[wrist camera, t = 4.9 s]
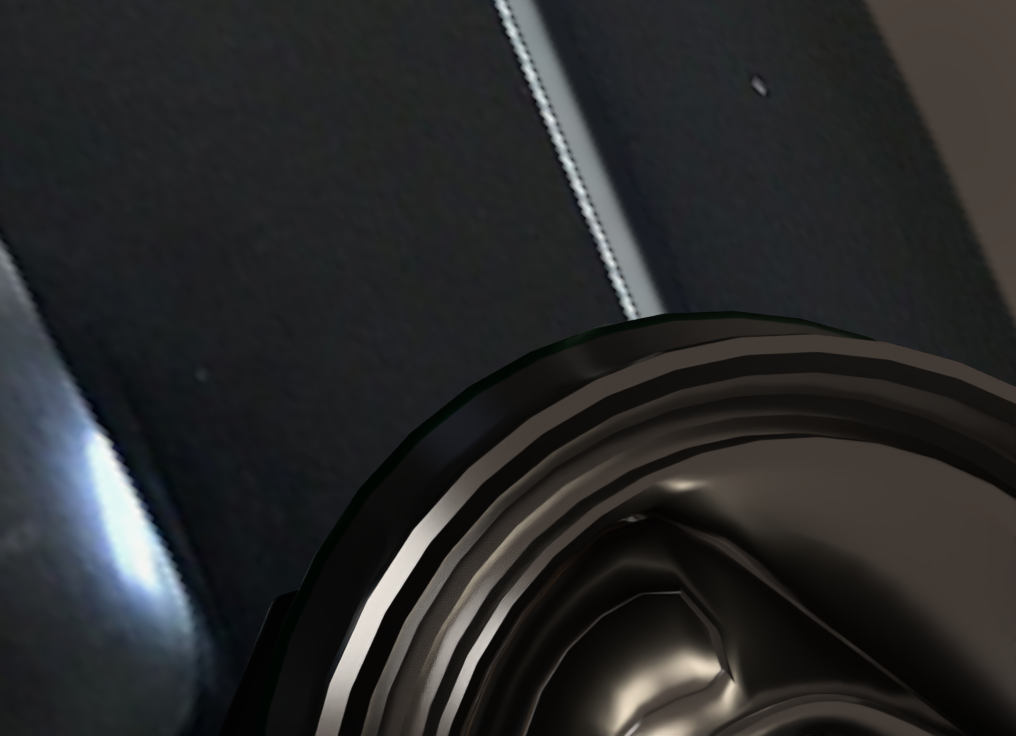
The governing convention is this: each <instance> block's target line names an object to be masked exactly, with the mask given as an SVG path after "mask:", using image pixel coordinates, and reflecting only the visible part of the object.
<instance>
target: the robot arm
mask: <svg viewBox="0 0 1016 736" xmlns="http://www.w3.org/2000/svg"><path fill="white" fill-rule="evenodd" d="M297 592H298V590H296V591H293V592H290V593H287V594H284V595H281V596H278V597H276V598H275V599H274V600H273V602H272V603H271V605H270V607H269V610H268V612H267V615H266V618H265V620H264V623H263V625H262V628H261V630H260V633H259V635H258V638H257V640H256V643H255V645H254V648H253V650H252V653H251V655H250V658H249V660H248V663H247V665H246V668H245V670H244V673H243V675H242V678H241V680H240V683H239V685H238V688H237V690H236V693H235V695H234V698H233V700H232V703H231V705H230V708H229V710H228V713H227V715H226V718H225V720H224V723H223V725H222V728H221V730H220V733H219V735H218V736H253V735H254V728H255V721H256V714H257V707H258V703H259V700H260V697H261V693H262V690H263V687H264V683H265V680H266V677H267V673H268V670H269V667H270V663H271V660H272V657H273V653H274V650H275V647H276V643H277V640H278V636H279V633H280V630H281V627H282V624H283V622H284V620H285V618H286V616H287V614H288V612H289V610H290V607H291V605H292V603H293V601H294V599H295V597H296V595H297Z"/></svg>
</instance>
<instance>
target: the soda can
mask: <svg viewBox="0 0 1016 736" xmlns="http://www.w3.org/2000/svg"><path fill="white" fill-rule="evenodd" d="M253 736H1016V387H1014V386H1012V385H1010V384H1007V383H1005V382H1003V381H1000V380H998V379H996V378H994V377H991V376H989V375H987V374H985V373H982V372H980V371H978V370H975V369H973V368H971V367H969V366H966V365H964V364H962V363H960V362H956V361H953V360H949V359H945V358H942V357H938V356H934V355H931V354H927V353H923V352H920V351H916V350H912V349H909V348H905V347H901V346H898V345H894V344H890V343H886V342H878V341H876V340H874V339H871V338H869V337H866V336H863V335H859V334H855V333H852V332H848V331H844V330H841V329H837V328H833V327H830V326H826V325H822V324H819V323H815V322H811V321H808V320H804V319H799V318H791V317H782V316H773V315H764V314H755V313H747V312H738V311H719V312H694V313H670V314H660V315H655V316H650V317H645V318H641V319H636V320H631V321H626V322H621V323H616V324H611V325H606V326H601V327H596V328H593V329H591V330H588V331H585V332H583V333H580V334H577V335H575V336H572V337H569V338H567V339H564V340H561V341H558V342H556V343H553V344H550V345H548V346H545V347H542V348H540V349H537V350H534V351H532V352H529V353H528V354H526V355H524V356H522V357H521V358H519V359H517V360H515V361H514V362H512V363H510V364H508V365H506V366H505V367H503V368H501V369H499V370H498V371H496V372H494V373H492V374H491V375H489V376H487V377H485V378H484V379H482V380H480V381H478V382H476V383H475V384H473V385H471V386H469V387H468V388H466V389H465V390H464V391H463V392H461V393H460V394H459V395H458V396H456V397H455V398H454V399H453V400H451V401H450V402H449V403H448V404H446V405H445V406H444V407H443V408H441V409H440V410H439V411H438V412H436V413H435V414H434V415H433V416H431V417H430V418H429V419H427V420H426V421H425V422H424V423H422V424H421V425H420V426H419V427H417V428H416V429H415V430H414V431H412V432H411V433H410V434H409V435H408V436H407V437H406V438H405V439H404V441H403V442H402V443H401V444H400V445H399V446H398V447H397V448H396V449H395V450H394V451H393V453H392V454H391V455H390V456H389V457H388V458H387V459H386V460H385V461H384V462H383V463H382V465H381V466H380V467H379V468H378V469H377V470H376V471H375V472H374V473H373V474H372V475H371V476H370V478H369V479H368V480H367V481H366V482H365V483H364V484H363V485H362V486H361V487H360V488H359V490H358V491H357V493H356V494H355V496H354V497H353V499H352V500H351V502H350V503H349V505H348V506H347V508H346V509H345V511H344V512H343V514H342V515H341V517H340V518H339V520H338V521H337V523H336V524H335V526H334V527H333V529H332V530H331V532H330V533H329V535H328V536H327V538H326V539H325V541H324V542H323V544H322V545H321V546H320V548H319V549H318V551H317V552H316V554H315V556H314V558H313V561H312V563H311V565H310V567H309V569H308V571H307V573H306V575H305V578H304V580H303V582H302V584H301V586H300V588H299V590H298V592H297V595H296V597H295V599H294V601H293V603H292V605H291V607H290V610H289V612H288V614H287V616H286V618H285V620H284V622H283V624H282V627H281V630H280V633H279V636H278V640H277V643H276V647H275V650H274V653H273V657H272V660H271V663H270V667H269V670H268V673H267V677H266V680H265V683H264V687H263V690H262V693H261V697H260V700H259V703H258V707H257V714H256V721H255V728H254V735H253Z"/></svg>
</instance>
